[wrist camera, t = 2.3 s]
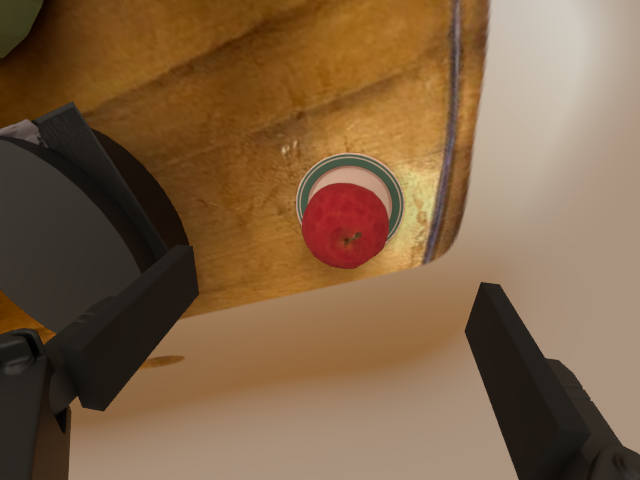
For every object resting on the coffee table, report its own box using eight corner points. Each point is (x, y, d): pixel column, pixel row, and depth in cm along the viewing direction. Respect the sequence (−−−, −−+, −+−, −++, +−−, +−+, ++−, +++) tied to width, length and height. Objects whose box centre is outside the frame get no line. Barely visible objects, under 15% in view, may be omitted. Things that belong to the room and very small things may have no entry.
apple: (422, 171, 23) (437, 203, 17) (381, 264, 26) (383, 316, 21) (312, 136, 23) (290, 156, 17) (287, 234, 27) (262, 277, 21)
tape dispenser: (117, 309, 35) (62, 367, 28) (-15, 147, 27) (-132, 176, 21) (235, 279, 31) (204, 337, 25) (123, 83, 23) (34, 93, 17)
